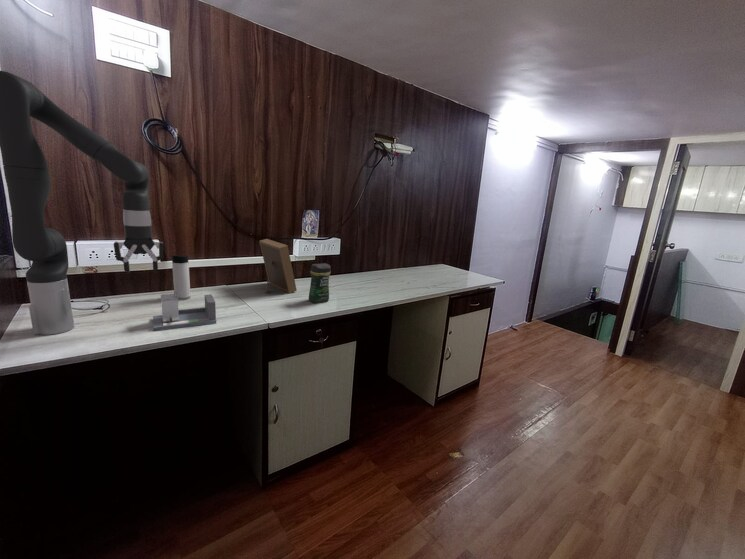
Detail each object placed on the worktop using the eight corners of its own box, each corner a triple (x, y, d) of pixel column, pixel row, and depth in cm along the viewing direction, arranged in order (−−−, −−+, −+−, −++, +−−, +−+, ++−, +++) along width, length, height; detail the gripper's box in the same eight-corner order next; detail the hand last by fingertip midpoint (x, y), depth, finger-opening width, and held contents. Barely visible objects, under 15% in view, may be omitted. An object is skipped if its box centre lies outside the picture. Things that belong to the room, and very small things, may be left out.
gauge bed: (153, 331, 114) (151, 308, 112) (153, 319, 123) (151, 298, 121) (216, 323, 125) (215, 302, 123) (211, 312, 134) (211, 293, 132)
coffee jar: (315, 304, 155) (316, 266, 151) (306, 299, 161) (307, 262, 156) (331, 301, 162) (334, 264, 157) (322, 296, 167) (324, 261, 163)
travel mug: (171, 299, 145) (168, 255, 140) (179, 295, 151) (176, 252, 146) (185, 300, 145) (183, 256, 140) (193, 296, 151) (190, 253, 146)
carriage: (162, 325, 116) (161, 302, 114) (162, 316, 123) (160, 294, 121) (179, 323, 119) (178, 300, 116) (178, 314, 126) (176, 293, 123)
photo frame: (276, 282, 186) (276, 238, 179) (296, 292, 171) (297, 244, 164) (250, 285, 175) (249, 239, 169) (270, 296, 161) (270, 246, 154)
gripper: (109, 224, 102) (114, 275, 106) (163, 225, 110) (166, 273, 114) (111, 221, 108) (116, 270, 112) (162, 223, 116) (165, 268, 120)
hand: (141, 271), depth 113 cm, fingers open, 7 cm apart
